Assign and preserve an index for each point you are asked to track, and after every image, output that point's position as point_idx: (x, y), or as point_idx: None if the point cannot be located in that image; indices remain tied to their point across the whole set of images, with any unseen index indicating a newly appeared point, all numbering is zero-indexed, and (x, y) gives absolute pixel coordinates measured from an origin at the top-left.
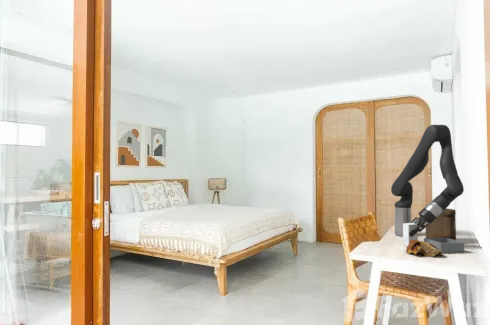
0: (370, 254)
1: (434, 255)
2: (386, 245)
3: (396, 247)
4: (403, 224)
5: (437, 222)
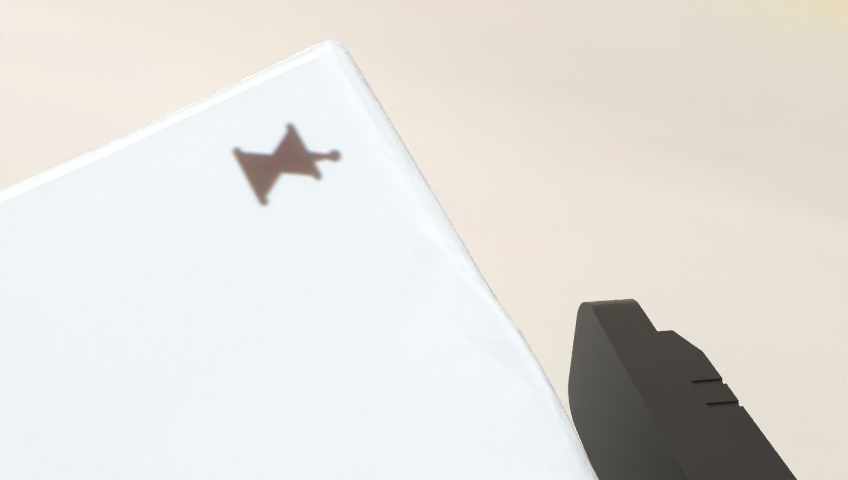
0: None
1: None
2: (369, 14)
3: None
4: (287, 82)
5: None
